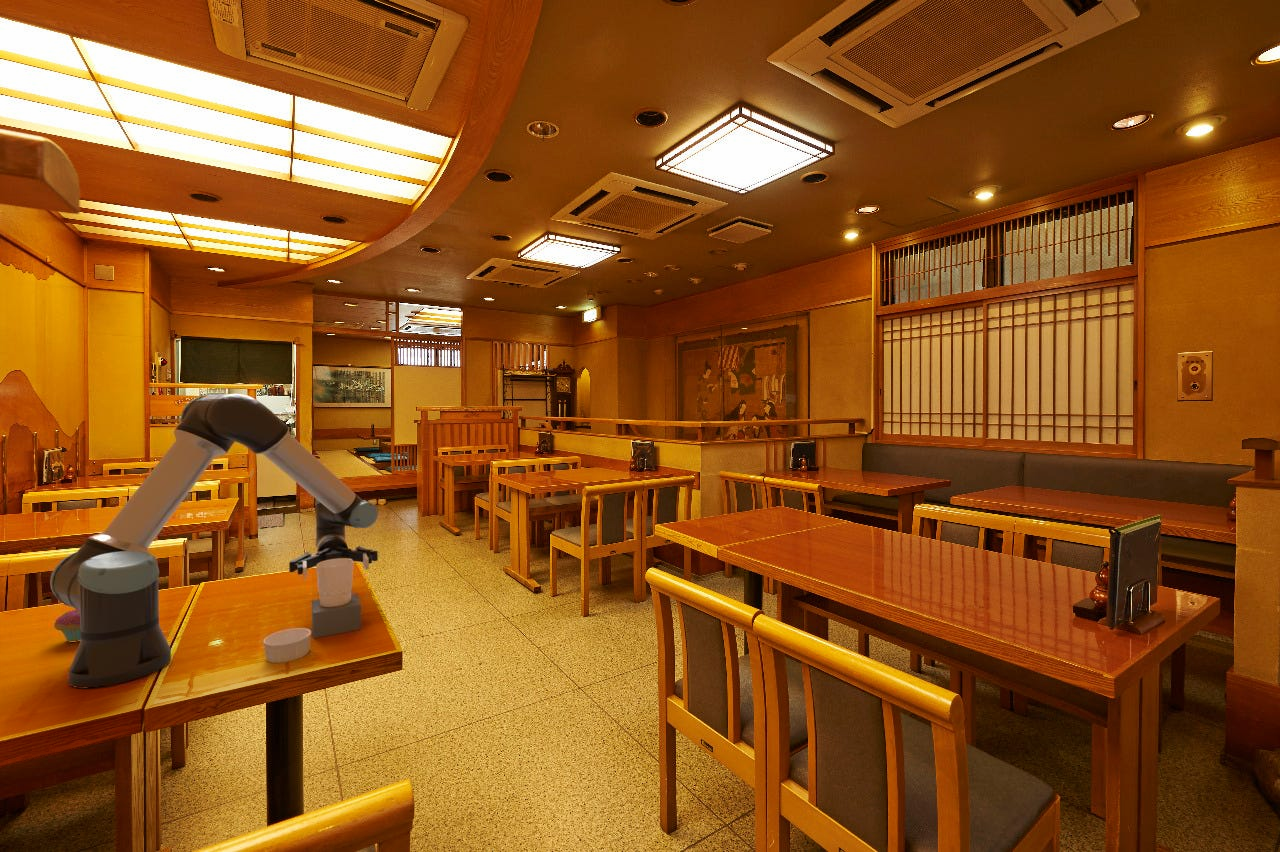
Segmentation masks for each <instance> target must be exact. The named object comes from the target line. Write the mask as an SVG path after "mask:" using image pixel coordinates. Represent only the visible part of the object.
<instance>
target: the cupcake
mask: <svg viewBox="0 0 1280 852" xmlns="http://www.w3.org/2000/svg"><path fill="white" fill-rule="evenodd" d="M53 626H54V629H56V630H57V631H61V633H62V634H63V635H64V636H63V637H65V639H66V641H67V640H68V641H78V640H81V633H80V611H79V610H77V609H75V608H74V609H72V610H68V611H67V612H65V613H63V614H62V615H60V616H58V618H57V619H55V622H54V625H53Z"/></svg>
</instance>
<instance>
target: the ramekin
mask: <svg viewBox="0 0 1280 852" xmlns="http://www.w3.org/2000/svg"><path fill="white" fill-rule="evenodd" d="M312 634H313V631H312V630H311V629H310V628H306V627H296V628H295V627H294V628H286V629H283V630H280V631H276V632H274V633H271V634H269V635H267V636H266V637H265V638H264V639H263V640H262V643H263V646H264V651H265V659H266V661H267V662H268V663H273V664H283V663H287V662H288V663H289V662H292V661H296V660H299V659H300V658H302V657H304V656H306V655H307V654H308V653H309V652H310V647H311V636H312Z"/></svg>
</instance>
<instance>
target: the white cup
mask: <svg viewBox="0 0 1280 852" xmlns="http://www.w3.org/2000/svg"><path fill="white" fill-rule="evenodd" d="M315 567H316V575H317V576H316V579H317V590H318V595H319V599H320V606H323V607H336V606H341V605H344V604H347V603H349V602H350V601H351V594H352V589H353V580H354V579H353V576H354V561H353V560H352V559H349V558H337V559H330V560H325V561H322V562H319V563H318V564H317V565H316V566H315Z"/></svg>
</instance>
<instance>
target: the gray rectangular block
mask: <svg viewBox="0 0 1280 852" xmlns="http://www.w3.org/2000/svg"><path fill="white" fill-rule="evenodd" d="M361 606H362V605H361V602H360V599H359V595H358V593H351V601H350V602H349V603H347V604H344V605H341V606H336V607H323V606H320V598H317V599H313V600H311V628H312V630H311V631H312V639H317V638H323V637H328V636H333V635H337V634H338V635H339V634H342V633H348V632H353V630H355V631H359V630H358V629H360V630H362V609H361V608H362V607H361Z"/></svg>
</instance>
